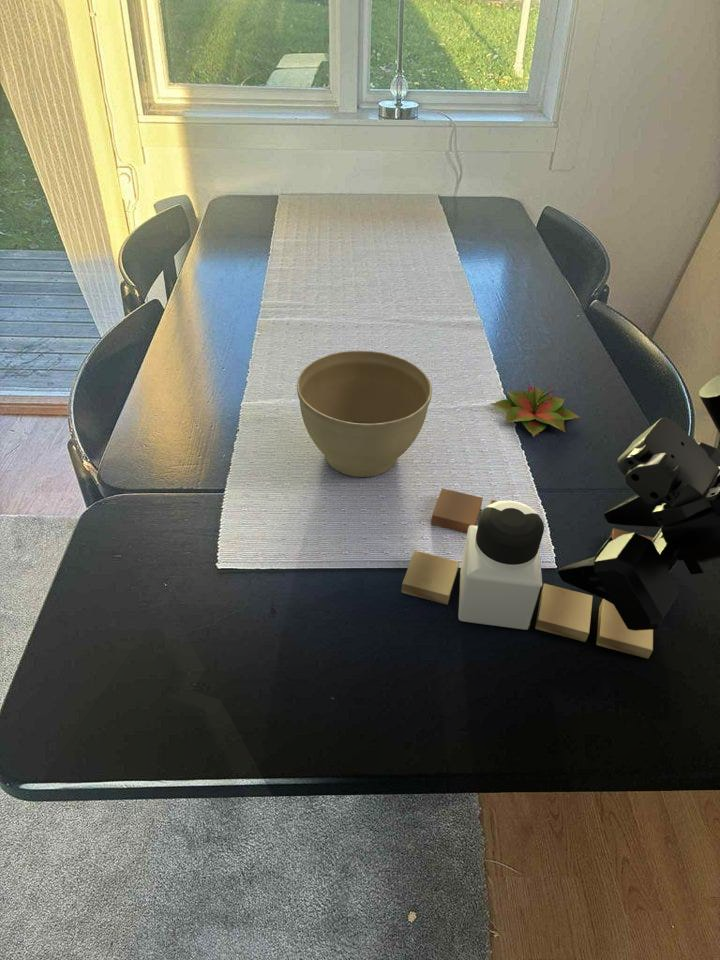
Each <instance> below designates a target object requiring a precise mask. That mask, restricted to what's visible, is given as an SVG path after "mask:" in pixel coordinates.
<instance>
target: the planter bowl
mask: <svg viewBox="0 0 720 960" xmlns="http://www.w3.org/2000/svg"><path fill="white" fill-rule="evenodd" d="M296 392H297V397H298V400H299V407H300V413H301V417H302V421H303V424H304V427H305V429H306V431H307V434H308V435H309V437H310V439H311V441H312V442H313V443H314V445H315V446H316V447H317V449H318V450H319V451H320V452H321V453H322V454H323V455H324V459H325V460H326V462H327V464H328V465H329V466H330V467H331V468H332V469H334V470H335V471H337V472H339V473H341V474H344V475H348V476H350V477H351V476H352V477H357V478H367V477H370V478H371V477H376V476H379V475H381V474H384V473H386V472H387V471H389V470H391V469H392V468H393V467H394V466H395V465H396V463H397V461H398V459H399V458H400V457H402V455H404V453H406V452H407V451H408V449H409V448H410V447H411V446H412V445H413V444H414V442H415V441H416V439H417V437H418V436H419V434H420V432H421V430H422V428H423V425H424V423H425V420H426V417H427V414H428V408H429V406H430V403H431V400H432V396H433V386H432V383H431V380H430V379H429V376H427V374H426V373H425V372H424V371H423V370H422V369H421V368H419V366H417V365H415V364H414V363H412V362H411V361H409V360H407V359H405V358H402V357H400V356H397V355H394V354H390V353H387V352H381V351H373V350H346V351H338V352H333V353H329V354H327V355H324V356H322V357H319V358H317V359H315V360H314V361H312V362H311V363H309V364H308V365H307V366H305V367H304V368H303V370H301V372H300V374H299V376H298V378H297V382H296Z"/></svg>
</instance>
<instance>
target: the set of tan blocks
mask: <svg viewBox="0 0 720 960" xmlns="http://www.w3.org/2000/svg"><path fill="white" fill-rule="evenodd" d="M459 566H460V561H458V560H455V559H454V560H453V559H450V558H446V557H442V556H439V555H435V554H430V553H426V552H422V551H418V550H414V551H413V554H412V555H411V558H410V562H409V563H408V567H407V569H406V572H405V575H404V577H403V580H402V583H401V590H400V591H401V592H400V593H402V594H405V595H409V596H412V597H416V598H419V599H424V600H427V601H432V602H434V603H439V604H442V605H446V606H448V605H449V602H450V599H451V596H452V592H453V589H454V586H455V581H456V579H457V576H458V572H459ZM593 599H594V596H593V595H592V594H588V593H583V592H579V591H576V590H571V589H568V588H565V587H564V588H563V587H560V586H556V585H551V584H548V583H543V584H542V588H541V591H540V596H539V603H538V609H537V615H536V621H535V627H534V629H535V630H537V631H538V630H539V631H541V632H546V633H549V634H553V635H557V636H561V637H563V638H567V639H572V640H576V641H579V642H583V643H586V642H587V640H588V637H589V635H590V629H591V618H592V609H593ZM595 641H596V643H595V645H596V646H598V647H602V648H606V649H609V650H613V651H618V652H621V653H624V654H628V655H630V656H631V655H632V656H635V657H639V658H643V659H647V660H649V658H650V657H651V655H652V654H653V651H654V629H653V630H637V631H634V630H629V629H628V628H627V627H626V625H625V623H624V622H623V620H622V618H621V616H620V615H619V613H618V611H617V610H616V608H615V606H614V604H612V603H610V602H608V601H607V600H605V599H603V598H602V599H601V602H600V604H599V608H598V618H597V631H596V640H595Z"/></svg>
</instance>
